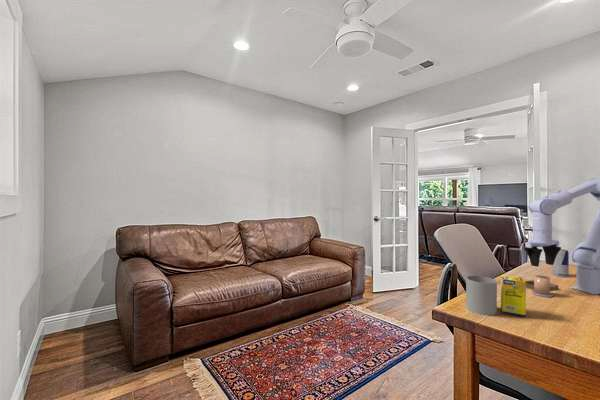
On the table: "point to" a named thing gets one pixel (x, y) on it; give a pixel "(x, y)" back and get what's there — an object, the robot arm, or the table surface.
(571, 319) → the table surface
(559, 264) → the energy drink
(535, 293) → the glossy gray dome
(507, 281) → the supplement box
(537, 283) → the clay pot
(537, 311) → the table surface
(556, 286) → the frame
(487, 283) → the cup
